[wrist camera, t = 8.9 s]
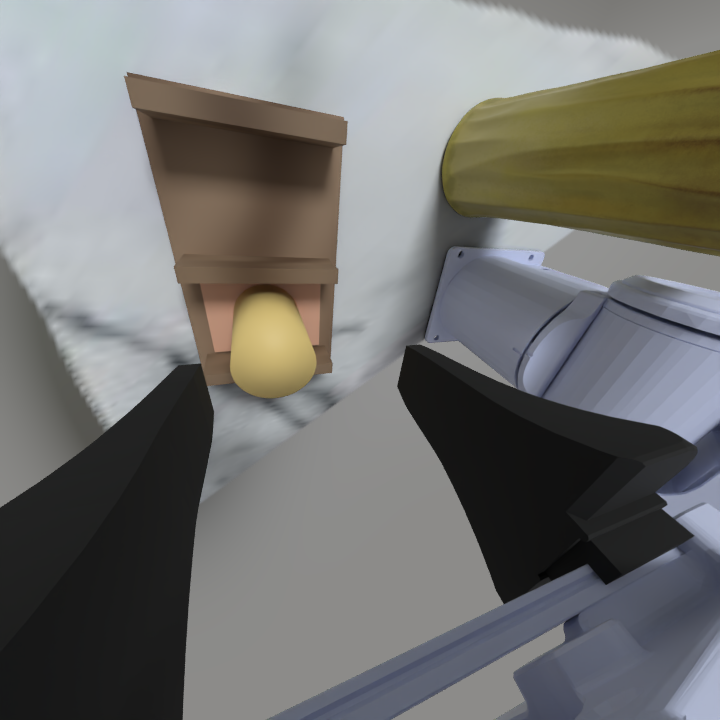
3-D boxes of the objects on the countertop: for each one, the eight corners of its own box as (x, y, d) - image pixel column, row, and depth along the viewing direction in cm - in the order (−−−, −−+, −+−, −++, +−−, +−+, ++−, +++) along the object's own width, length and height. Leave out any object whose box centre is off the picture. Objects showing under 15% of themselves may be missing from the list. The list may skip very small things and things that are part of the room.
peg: (298, 284, 17) (318, 328, 13) (298, 339, 20) (314, 393, 15) (229, 283, 16) (224, 332, 11) (237, 342, 18) (235, 402, 14)
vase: (489, 228, 20) (777, 297, 9) (424, 199, 18) (720, 248, 7) (539, 128, 17) (1040, 55, 6) (471, 76, 15) (1122, -201, 4)
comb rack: (341, 118, 14) (359, 108, 12) (328, 355, 22) (338, 377, 20) (131, 75, 11) (99, 50, 9) (203, 366, 19) (197, 393, 17)
